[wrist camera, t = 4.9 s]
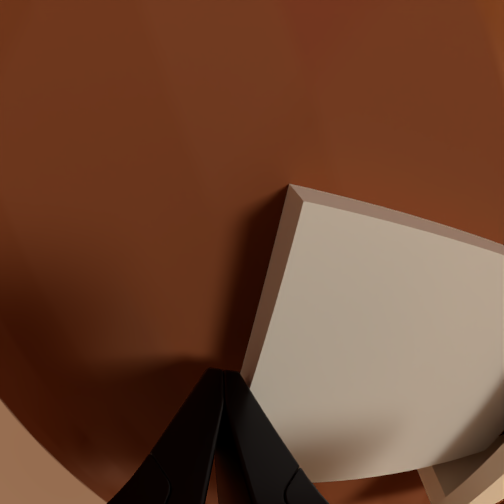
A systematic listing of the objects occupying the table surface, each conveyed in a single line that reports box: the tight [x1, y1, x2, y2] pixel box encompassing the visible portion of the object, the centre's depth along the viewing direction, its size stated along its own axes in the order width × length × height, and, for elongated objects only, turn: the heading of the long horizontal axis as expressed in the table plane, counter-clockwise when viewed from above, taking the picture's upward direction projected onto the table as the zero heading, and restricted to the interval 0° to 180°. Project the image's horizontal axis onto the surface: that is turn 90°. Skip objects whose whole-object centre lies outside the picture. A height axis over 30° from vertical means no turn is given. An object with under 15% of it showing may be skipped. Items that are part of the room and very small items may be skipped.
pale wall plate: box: [240, 184, 504, 483], centre depth 9 cm, size 10×14×2 cm
